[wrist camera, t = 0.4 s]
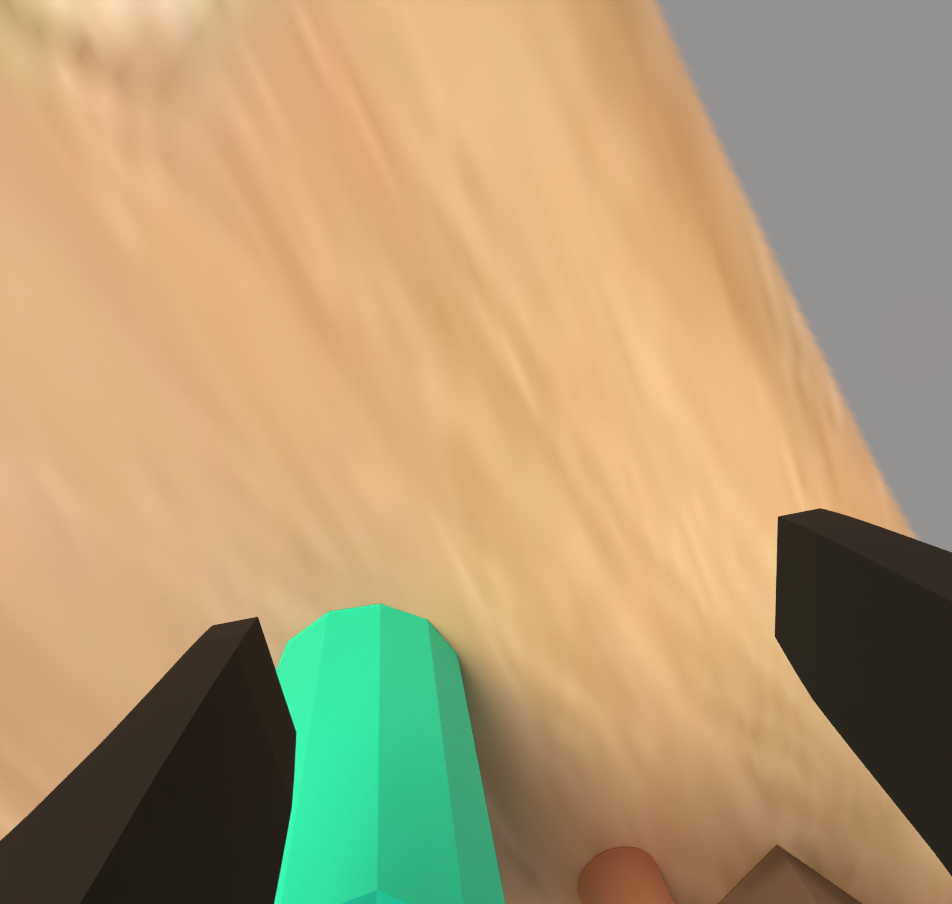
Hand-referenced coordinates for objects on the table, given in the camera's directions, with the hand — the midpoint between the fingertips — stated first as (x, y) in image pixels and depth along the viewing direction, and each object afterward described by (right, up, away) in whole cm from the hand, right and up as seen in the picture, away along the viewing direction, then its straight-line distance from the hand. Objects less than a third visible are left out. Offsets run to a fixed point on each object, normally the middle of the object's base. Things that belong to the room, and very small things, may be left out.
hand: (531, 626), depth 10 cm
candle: (-4, -5, +12) cm, 14 cm away
